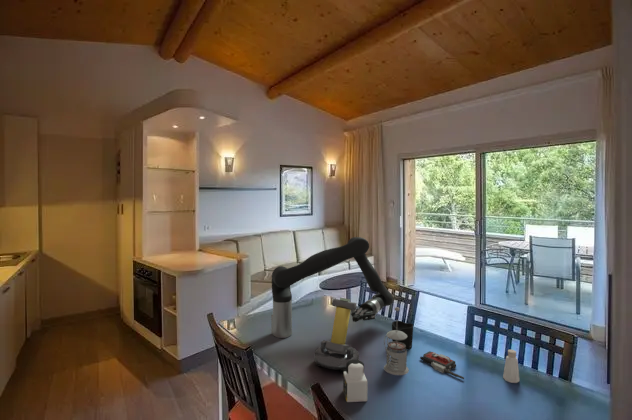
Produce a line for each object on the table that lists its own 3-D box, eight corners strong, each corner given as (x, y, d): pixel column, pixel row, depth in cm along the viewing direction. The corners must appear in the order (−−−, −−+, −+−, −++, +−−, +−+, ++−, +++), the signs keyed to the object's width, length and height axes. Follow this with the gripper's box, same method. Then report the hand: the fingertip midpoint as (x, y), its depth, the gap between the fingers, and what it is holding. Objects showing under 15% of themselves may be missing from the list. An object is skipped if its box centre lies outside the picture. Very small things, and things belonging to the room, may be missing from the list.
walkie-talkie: (416, 362, 147) (462, 383, 131) (416, 352, 147) (462, 371, 131) (428, 356, 152) (474, 375, 137) (429, 346, 152) (474, 364, 136)
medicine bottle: (343, 390, 126) (343, 357, 125) (362, 389, 126) (363, 356, 125) (346, 402, 118) (346, 367, 118) (367, 401, 119) (367, 367, 118)
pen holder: (397, 351, 156) (397, 329, 155) (388, 342, 165) (388, 321, 164) (416, 349, 158) (417, 327, 157) (406, 340, 167) (407, 319, 166)
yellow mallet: (322, 349, 144) (331, 295, 149) (329, 349, 149) (337, 297, 154) (344, 355, 139) (352, 299, 144) (350, 355, 144) (358, 301, 149)
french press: (394, 377, 134) (395, 313, 133) (375, 364, 144) (376, 304, 143) (414, 371, 139) (415, 308, 137) (394, 358, 149) (395, 300, 148)
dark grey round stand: (306, 367, 141) (306, 348, 141) (328, 350, 157) (328, 332, 156) (346, 380, 132) (346, 359, 131) (366, 361, 147) (366, 342, 147)
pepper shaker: (519, 384, 129) (520, 355, 129) (502, 380, 132) (503, 351, 132) (519, 378, 134) (520, 349, 133) (503, 374, 137) (504, 346, 136)
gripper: (357, 298, 175) (341, 308, 160) (383, 303, 168) (368, 314, 153) (357, 313, 176) (341, 324, 161) (382, 318, 169) (368, 331, 154)
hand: (354, 319), depth 157 cm, fingers closed
